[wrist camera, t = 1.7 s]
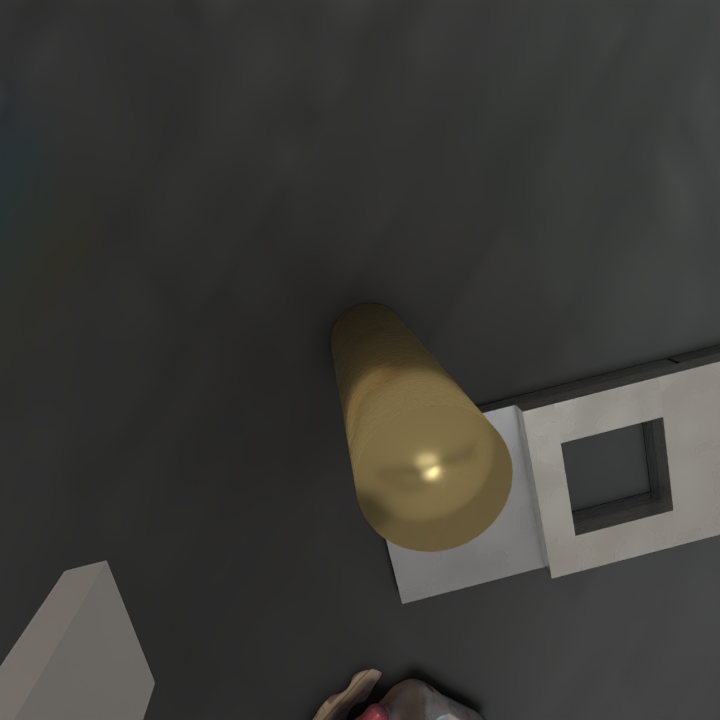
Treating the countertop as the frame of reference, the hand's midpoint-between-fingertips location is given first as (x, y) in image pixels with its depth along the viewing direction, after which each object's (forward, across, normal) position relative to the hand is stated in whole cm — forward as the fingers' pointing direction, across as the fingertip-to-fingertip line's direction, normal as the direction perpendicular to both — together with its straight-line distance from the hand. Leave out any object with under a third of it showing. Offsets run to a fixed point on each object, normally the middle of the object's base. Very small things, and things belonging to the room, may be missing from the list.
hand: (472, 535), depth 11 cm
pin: (+18, 0, 0) cm, 18 cm away
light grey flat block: (+18, +14, -9) cm, 24 cm away
